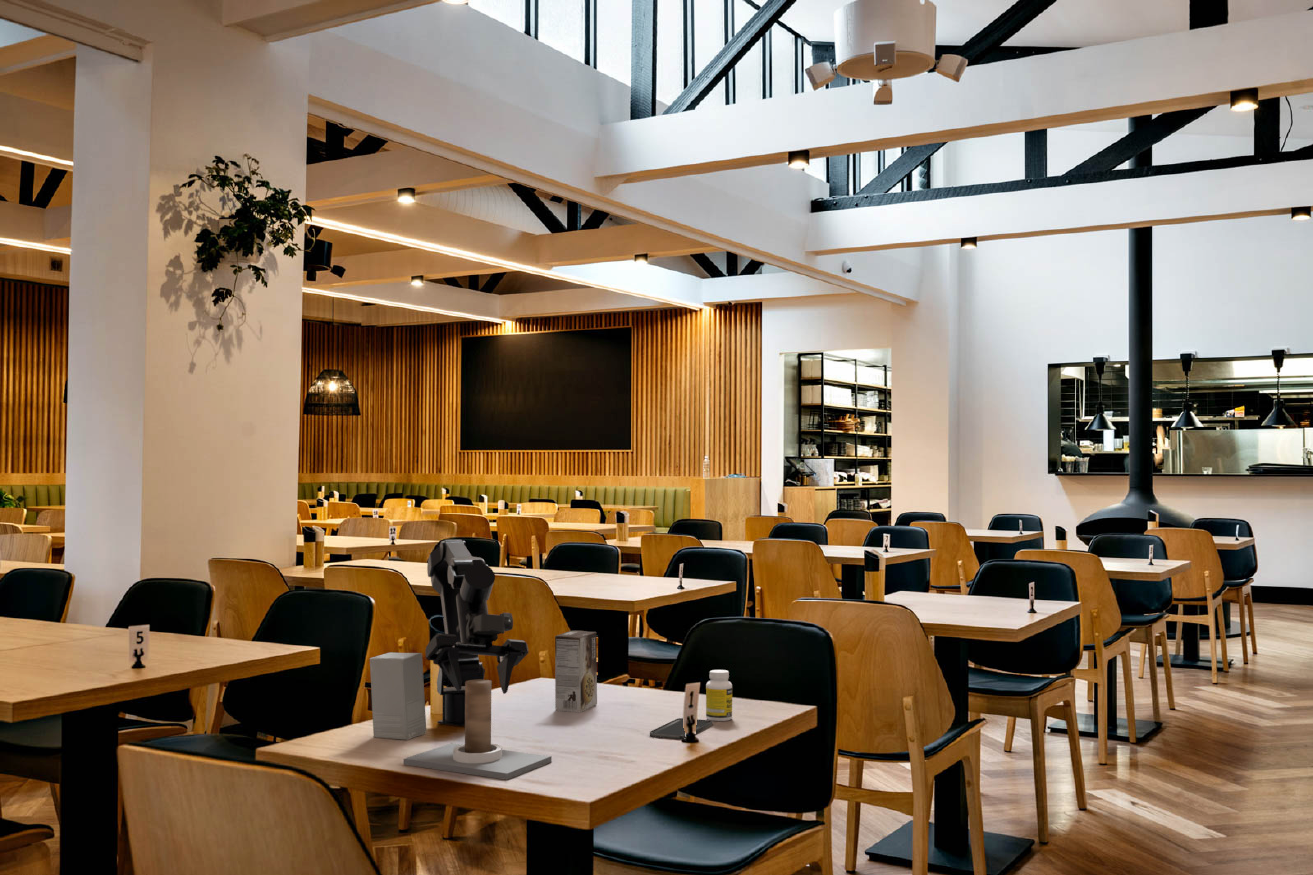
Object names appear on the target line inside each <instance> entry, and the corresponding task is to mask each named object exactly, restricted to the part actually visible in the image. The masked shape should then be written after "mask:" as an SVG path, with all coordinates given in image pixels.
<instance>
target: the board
mask: <svg viewBox="0 0 1313 875" xmlns="http://www.w3.org/2000/svg"><path fill="white" fill-rule="evenodd" d="M552 760H553V758H552V755H548V754H547V755H545V754H538V753H531V752H530V753H529V752H523V751H515V750H506V749H503V747H502V746H501V745H499V744H496V743H491V752H485V753H465V744H463V743H462V744H460V743H453V742H452V743H451V742H450V743H448V744H444V745H441V746H439V747H436V748H432V749H429V750H426V751H423V752H420V753H416V754H414V755H411V756H407V757H405V758H403V766H404V765H405V766H412V767H417V768H425V769H426V768H427V769H433V770H438V771H446V772H452V773H460V774H466V775H473V776H481V777H485V778H493V779H501V780H505V781H506V780H509V779H512V778H515V777H517V776H520V775H522V774H525V773H527V772H530V771H532V770H535V769H538V768H539V767H543V766H546V765H548V764H551V763H552Z"/></svg>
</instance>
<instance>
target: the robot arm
mask: <svg viewBox="0 0 1313 875" xmlns="http://www.w3.org/2000/svg"><path fill="white" fill-rule="evenodd" d="M426 565H427V569H426V570H427V571H426V572H427V578H430V583H431V587H432V589H434V590H435V592H437V593H438V595H440V601H441V610H442V619H443V626H444V633H439V632H438V633H436V634H435V635H434V636H433V637H432V638H431V640H430V641H429V642H428V644H427V645H426V648H425V659H426V660H428V661H432V663H433V664H434V665H437V666H438V667H439V669H438V673H437V678H436V687H437V688H436V691H437V693H438V694H439V695H440V696H442V719H440V720H437V722H436V723H437V724H439V725H449V726H454V727H455V726H456V727H465V682H466V681H469V680H478V679H483V680H485V672H486V670H485V668H484V666H483V662H482V661H481V662H480V659H479V656H487V657H488V656H491V657H492V656H493V657H496V662H497V663H498V664H497V666H496V669H497V674H498V679H499V685H500V688H501V690H502V693H503V695H504V694H505V695H506V694H507V693H508V691H509V686H510V680H511V678H512V673H513V669H514V667H516V666H518V665H519V664H520V663H521V661H523V660H524V659H525V657H526V656H527V655H528V654H529V647H528V643H527V642H526V641H525V640H522V639H521V640H520V639H511V638H510V639H509V638H507V639H506V641H504V643H503V644H501V645H497V644H496V645H494V644H493V642H496V641H497V640H498V639H499V636H498V635H501V634H505V632H509V631H511V630H513V627H514V619H513V614H512V613H510V612H502V613H500V614H491V613H490V614H489V609H488V603H487V602H488V601H489V599H490V596H491V594H492V590H493V587H494V585H495V580H496V573H495V572H494V570H493V569H492V567H490V566H489V565H488V564H486V561H485V560H484V558H482V557H480V556H479V557H477V556H473V555H472V554H471V553H470V551H469V550H468V549H467V545H466V541H465V540H462V539H444V540H442V541H440V544H439V546H438V547H436V548H435V549H433V550H432V551H431V552H430V553H429V557H428V560H427V564H426ZM443 617H444V618H443Z"/></svg>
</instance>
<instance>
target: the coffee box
mask: <svg viewBox="0 0 1313 875" xmlns="http://www.w3.org/2000/svg"><path fill="white" fill-rule="evenodd" d="M554 648H555V649H554V659H555V660H554V662H555V665H554V669H555V672H554V674H555V675H554V676H555V678H554V682H555V684H554V685H555V686H554V688H555V689H554V690H555V691H554V692H555V693H554V694H555V696H554V697H555V699H554V700H555V704H554V705H555V707H554V708H555V711H559V712H570V713H571V712H572V713H573V712H575V713H583V712H584V711H587V710H589V709H591V708H592V707H594V706H595V705H597V704H598V683H597V682H598V681H597V680H598V679H597V678H598V677H597V674H598V672H597V671H598V670H597V669H598V667H597V664H598V663H597V661H598V660H597V632H596V631H587V630H585V631H584V630H569V631H567V632H563V633H560V634H557V635H555V636H554Z"/></svg>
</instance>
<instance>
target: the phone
mask: <svg viewBox="0 0 1313 875" xmlns="http://www.w3.org/2000/svg"><path fill="white" fill-rule="evenodd" d="M683 718H684V717H681V718H679V717H678V718H675V719H673V720H672V721H669V722H667V723H666V724H662V725H661V726H658V727H657V728H655V729H653V730H651V731H649V737H650V738H657V739H658V738H659V739H668V740H679V741H684V738H685V731H684V728H683ZM713 723H714V721H711V720H708V719H699V718H697V725H696V735H697V734H700V733H701V732H703V731H705V730H707V729H709V728H711V727H712V726H713V725H714V724H713Z"/></svg>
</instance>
